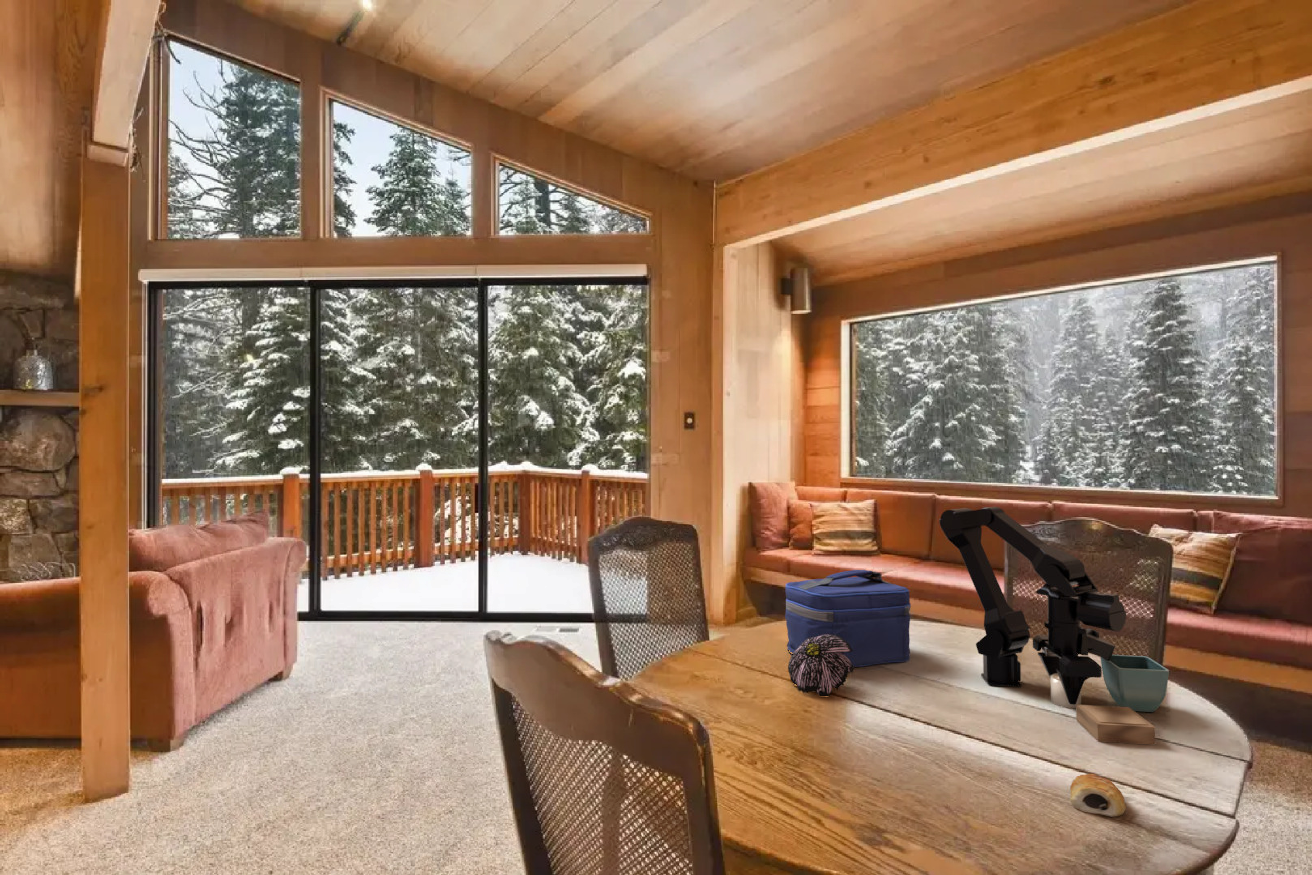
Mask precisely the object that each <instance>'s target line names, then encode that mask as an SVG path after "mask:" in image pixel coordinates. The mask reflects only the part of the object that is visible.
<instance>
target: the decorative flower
mask: <svg viewBox="0 0 1312 875" xmlns="http://www.w3.org/2000/svg"><path fill="white" fill-rule="evenodd" d="M851 651H853V650H852V649H851V647H850V644H849V643H847V641H846V640H844V639H843V638H841V637H839V636H838V635H831V634H826V635H821V636H818V637H812V638H808V639H806V640H805V641H804V642H803V643H801V645H800V646H799V648H798V649H797V650H796V651H795V652H794V653H793V655H792V654H791V656H790V658H789V661H788V665H787V670H788V673H789V677H790V682H791V683H792V684H793V683H794V684H796V685H797V688H796V689H797V691H798V690H799V691H798V692H802V693H803V694H805V693H807V694H808V693H809V692H810V693H813V692H815V694H818V697H819V696H829V697H830V696H831V695H832V692H833V688H834V689H836V690H837V691H838V690H839V688H840V687H841V686H844V685H845V682H847V680H846V679H847V678H848V676H849V674H853V672H854V667H853V665H852V663H851V661H850V660H849V659H848V658H847V657H846V655H845V654H843V653H842V652H851ZM794 684H793V685H794Z"/></svg>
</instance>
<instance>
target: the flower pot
mask: <svg viewBox="0 0 1312 875" xmlns="http://www.w3.org/2000/svg"><path fill="white" fill-rule="evenodd" d="M1099 657H1100V656H1099ZM1100 666H1101V668H1102V678H1103V682H1104V684H1105V686H1106V689H1107V691H1108V693H1109V695H1110V696H1111V698H1112V700H1113V701H1114V702H1115V703H1116V704H1117V705H1118V706H1119V707H1129V708H1131V709H1132V710H1133V711H1135V712H1143V713H1144V712H1147V713H1153V712H1155V711H1156V710H1157V709H1158V708H1159V707H1160V706H1161V705H1162V703H1163V701H1164V700H1165V697H1166V694H1167V689H1168V680H1169V674H1170V670H1169V669H1168V668H1166V667H1164V666H1163V665H1162V664H1160V663H1158V662H1157V661H1155V660H1153V659H1152V658H1150V657H1149V656H1144V655H1120V654H1112V656H1111V659H1110V661H1108V660H1105V659H1103V658H1102V657H1100Z"/></svg>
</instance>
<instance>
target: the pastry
mask: <svg viewBox="0 0 1312 875" xmlns="http://www.w3.org/2000/svg"><path fill="white" fill-rule="evenodd" d="M1069 792H1070V798H1069V801H1070V803H1071V805H1072V806H1073V807H1074V808H1075V809H1076V810H1080V811H1081V812H1084V813H1088V814H1096V815H1100V816H1101V815H1102V816H1106V817H1111V818H1115V817H1120V816H1122V815H1124V813H1125V811H1126V809H1127V807H1126V802H1125V797H1124V795H1123V793H1122V791H1121V790H1120V789H1119V788H1118V787H1117V786H1116V785H1115V784H1114V782H1112V781H1111V780H1110V779H1108V778H1105V777H1102V776H1099V775H1097V774H1096V773H1087V774H1080V775H1078V776H1076V777H1075V779H1073V780H1072V781H1071V784H1070V791H1069Z"/></svg>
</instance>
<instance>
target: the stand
mask: <svg viewBox="0 0 1312 875" xmlns="http://www.w3.org/2000/svg"><path fill="white" fill-rule="evenodd" d="M1075 711H1076V712H1075V714H1076V716H1075V717H1076V718H1075V720H1077V721H1076V723H1078V724H1079V723H1080V724H1081V725H1080V724H1079V725H1080V726H1081V727H1082V728H1083V729H1084V730H1086V732H1088V733H1089V734H1090V735H1091V737H1093V738H1094V739H1095V740H1096V741H1097V742H1102V741H1104V743H1121V744H1137V745H1138V744H1139V745H1153V744H1155V745H1156V727H1155V726H1154V725H1153V724H1152V723H1150V722H1149V721H1148V720H1146V719H1145V718H1143V717H1142V716H1141V715H1140V714H1139V713H1137V711H1133V710H1132V709H1131V708H1129V707H1121V706H1109V705H1090V704H1081V705H1076V708H1075Z"/></svg>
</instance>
